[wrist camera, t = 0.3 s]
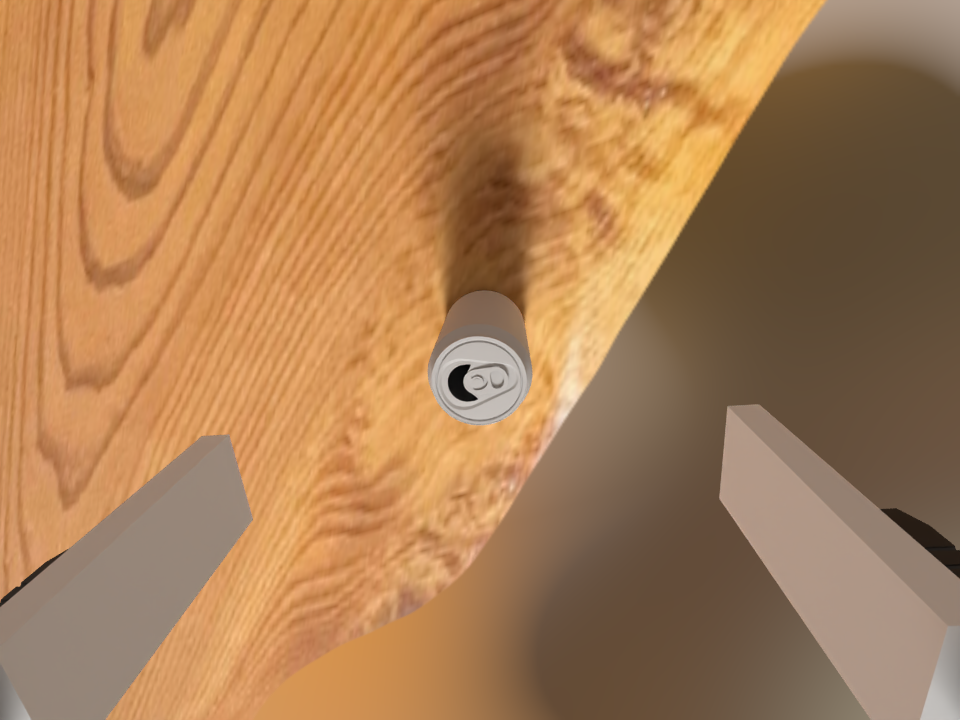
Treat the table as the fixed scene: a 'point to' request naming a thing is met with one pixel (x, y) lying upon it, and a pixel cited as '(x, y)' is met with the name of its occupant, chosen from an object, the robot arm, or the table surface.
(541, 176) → the table surface
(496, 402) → the beverage can
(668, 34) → the table surface
